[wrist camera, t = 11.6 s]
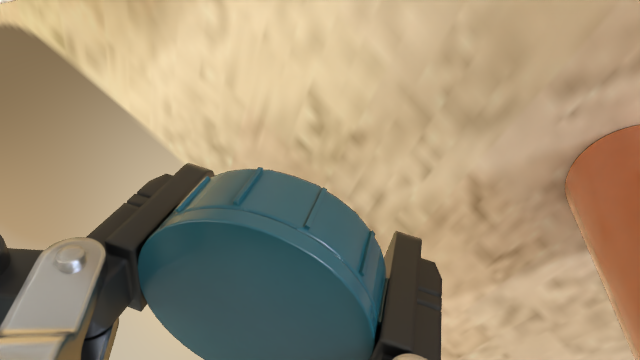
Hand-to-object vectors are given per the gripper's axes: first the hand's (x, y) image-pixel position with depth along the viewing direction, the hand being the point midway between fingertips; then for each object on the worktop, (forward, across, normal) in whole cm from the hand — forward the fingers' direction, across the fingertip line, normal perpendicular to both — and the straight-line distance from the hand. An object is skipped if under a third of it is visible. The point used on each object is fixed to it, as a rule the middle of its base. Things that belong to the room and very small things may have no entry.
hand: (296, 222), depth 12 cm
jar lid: (-3, 0, 0) cm, 3 cm away
